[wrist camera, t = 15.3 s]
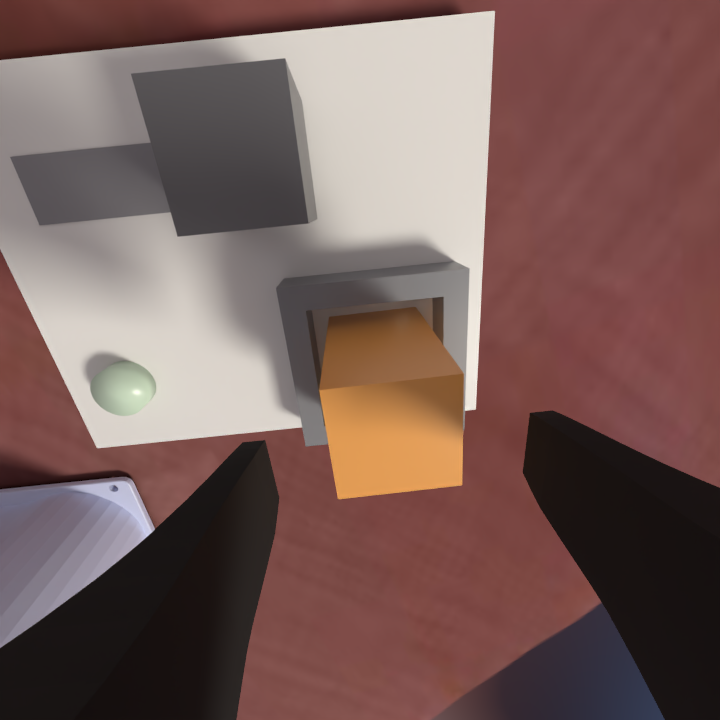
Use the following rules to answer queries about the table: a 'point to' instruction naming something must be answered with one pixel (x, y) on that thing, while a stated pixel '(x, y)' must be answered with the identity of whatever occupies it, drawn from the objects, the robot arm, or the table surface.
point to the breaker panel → (246, 247)
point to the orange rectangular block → (391, 404)
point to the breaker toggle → (229, 145)
